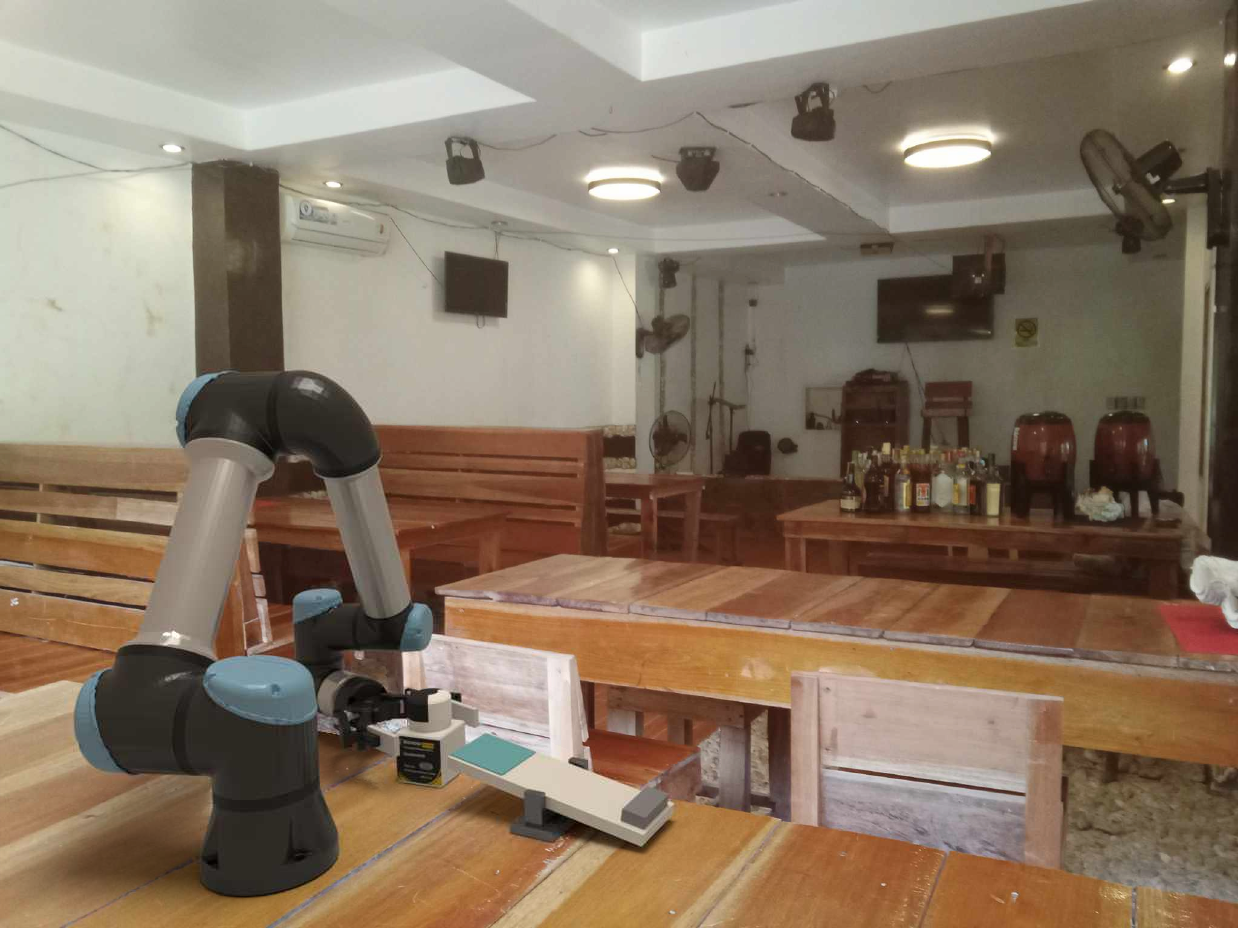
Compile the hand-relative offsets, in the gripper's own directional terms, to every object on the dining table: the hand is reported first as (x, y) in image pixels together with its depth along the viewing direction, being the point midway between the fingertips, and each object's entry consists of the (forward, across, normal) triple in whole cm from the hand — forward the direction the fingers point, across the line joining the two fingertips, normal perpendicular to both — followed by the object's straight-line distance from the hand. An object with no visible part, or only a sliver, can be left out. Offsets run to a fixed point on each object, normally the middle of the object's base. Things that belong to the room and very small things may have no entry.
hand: (438, 731), depth 132 cm
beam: (+21, -2, -3) cm, 22 cm away
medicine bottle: (-1, 0, -7) cm, 7 cm away
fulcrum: (+21, -2, -6) cm, 22 cm away
